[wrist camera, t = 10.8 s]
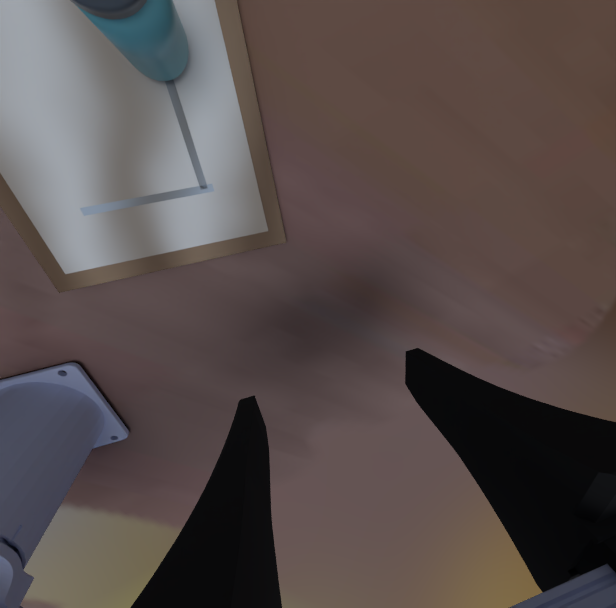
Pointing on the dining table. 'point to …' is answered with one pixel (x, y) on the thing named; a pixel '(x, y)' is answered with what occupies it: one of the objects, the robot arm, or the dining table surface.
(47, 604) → the dining table surface
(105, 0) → the marker
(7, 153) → the writing board
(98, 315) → the dining table surface
